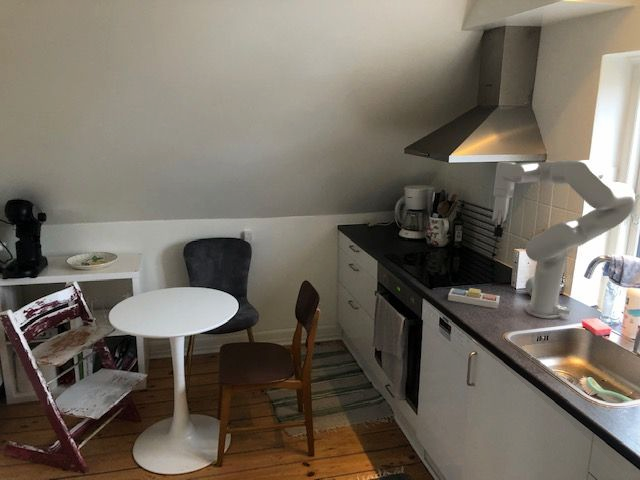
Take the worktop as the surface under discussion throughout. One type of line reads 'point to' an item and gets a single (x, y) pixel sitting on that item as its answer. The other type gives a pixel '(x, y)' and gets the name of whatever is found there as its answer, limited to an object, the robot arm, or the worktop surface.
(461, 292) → the slate button
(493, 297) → the terracotta button
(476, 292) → the mustard button
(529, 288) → the ceramic mug
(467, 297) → the panel
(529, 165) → the robot arm
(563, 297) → the worktop surface
